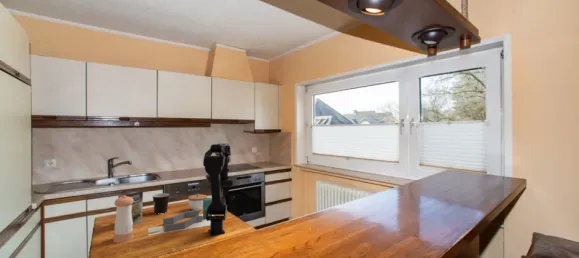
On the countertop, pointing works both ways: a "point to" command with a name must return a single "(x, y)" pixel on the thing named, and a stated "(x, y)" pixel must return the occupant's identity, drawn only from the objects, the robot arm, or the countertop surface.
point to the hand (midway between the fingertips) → (222, 196)
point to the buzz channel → (191, 223)
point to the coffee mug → (160, 202)
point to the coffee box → (135, 205)
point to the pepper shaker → (123, 220)
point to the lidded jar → (196, 201)
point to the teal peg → (205, 206)
